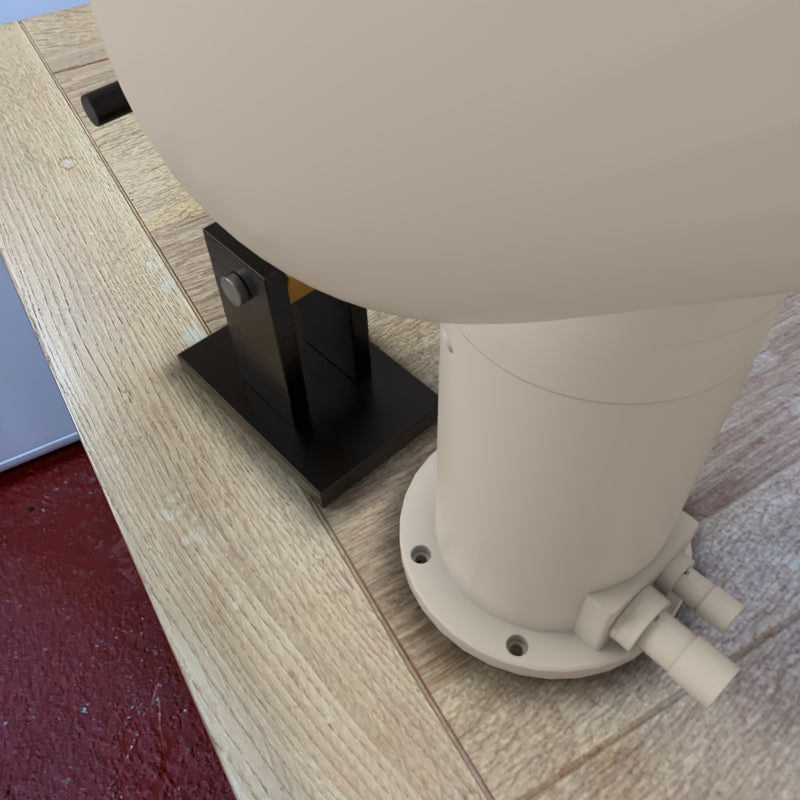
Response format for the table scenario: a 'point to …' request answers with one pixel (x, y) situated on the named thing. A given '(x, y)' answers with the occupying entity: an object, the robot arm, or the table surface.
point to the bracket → (304, 375)
